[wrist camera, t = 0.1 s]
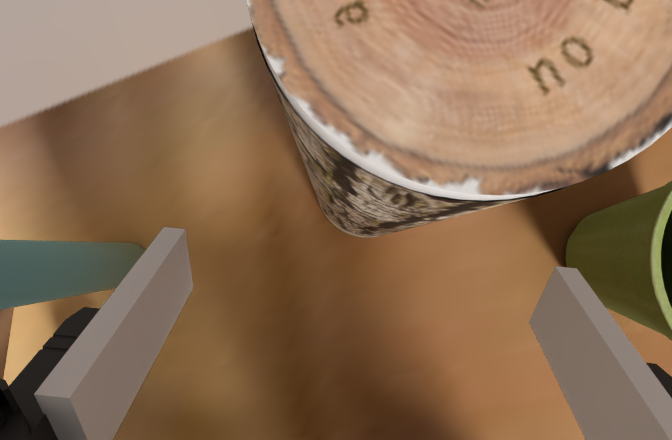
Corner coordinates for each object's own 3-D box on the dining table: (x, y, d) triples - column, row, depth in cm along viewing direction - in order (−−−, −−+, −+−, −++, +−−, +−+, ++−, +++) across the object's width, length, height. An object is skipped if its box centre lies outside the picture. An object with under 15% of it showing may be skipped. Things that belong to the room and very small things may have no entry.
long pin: (146, 287, 30) (-20, 323, 16) (103, 283, 30) (-100, 315, 16) (152, 244, 30) (-8, 242, 16) (109, 240, 30) (-87, 234, 16)
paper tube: (300, 203, 30) (136, 2, 5) (353, 131, 31) (428, -371, 6) (374, 256, 30) (562, 303, 5) (426, 183, 30) (838, -109, 5)
